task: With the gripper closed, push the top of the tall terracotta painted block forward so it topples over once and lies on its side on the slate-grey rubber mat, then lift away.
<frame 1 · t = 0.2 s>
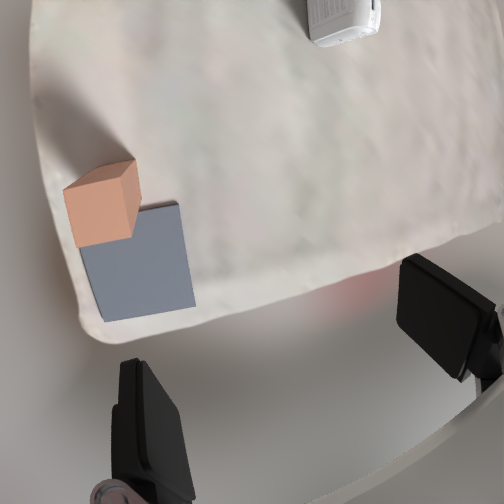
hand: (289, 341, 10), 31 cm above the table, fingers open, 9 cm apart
terracotta block: (119, 182, 34), on the table
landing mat: (136, 266, 39), on the table
photo printer: (318, 17, 32), on the table
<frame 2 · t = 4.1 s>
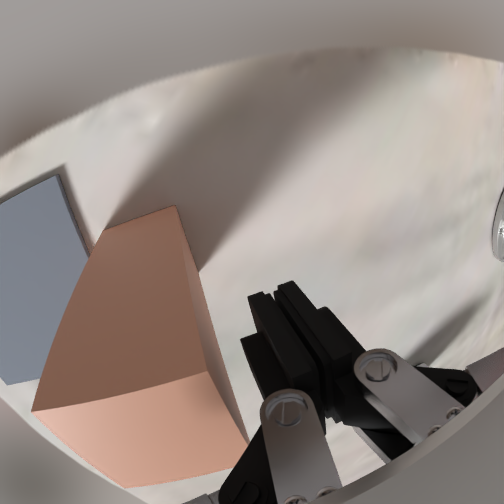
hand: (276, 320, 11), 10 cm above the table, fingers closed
terracotta block: (151, 252, 19), on the table, touching gripper
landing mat: (18, 301, 17), on the table
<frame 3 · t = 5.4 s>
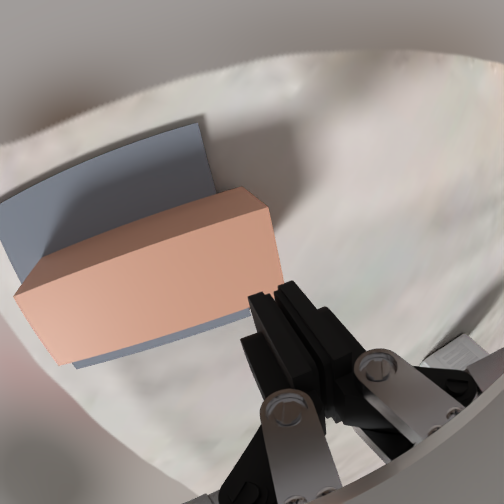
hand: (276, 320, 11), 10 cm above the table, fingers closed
terracotta block: (262, 236, 17), point 3 cm above the table, tilted 90°, touching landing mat
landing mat: (118, 263, 19), on the table
photo printer: (440, 352, 37), on the table
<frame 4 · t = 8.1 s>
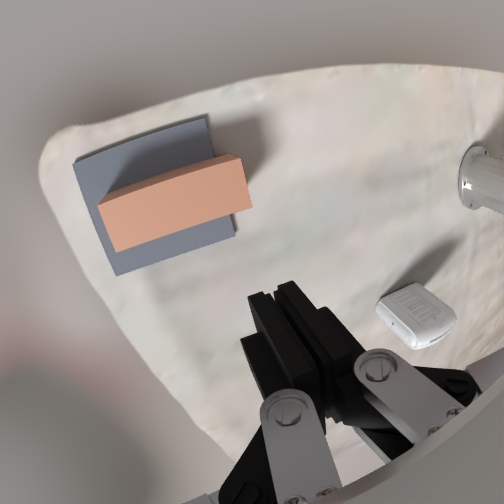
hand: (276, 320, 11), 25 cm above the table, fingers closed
terracotta block: (240, 178, 31), point 3 cm above the table, tilted 90°, touching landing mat
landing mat: (154, 198, 32), on the table
photo printer: (396, 297, 50), on the table
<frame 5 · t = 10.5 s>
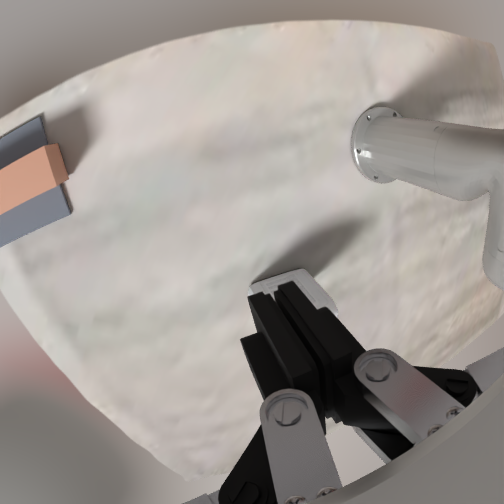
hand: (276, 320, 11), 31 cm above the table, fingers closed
terracotta block: (57, 163, 29), point 3 cm above the table, tilted 90°, touching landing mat
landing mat: (12, 186, 31), on the table
photo printer: (277, 284, 49), on the table
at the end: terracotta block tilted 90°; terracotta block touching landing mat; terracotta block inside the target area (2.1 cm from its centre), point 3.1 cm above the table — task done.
